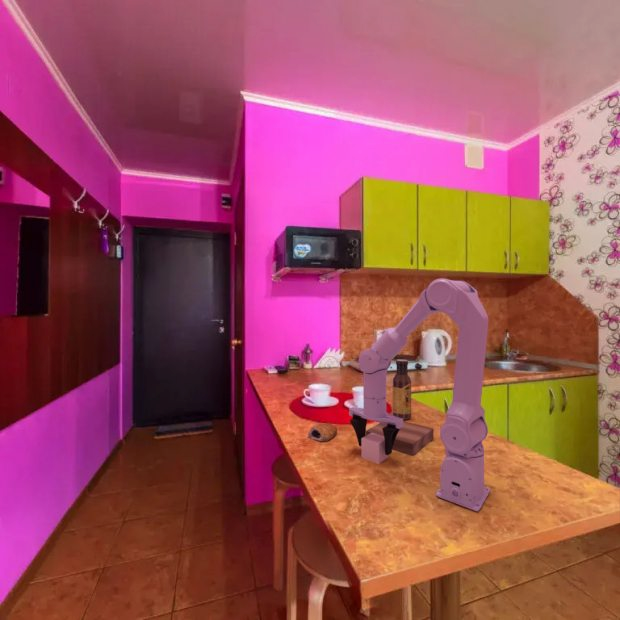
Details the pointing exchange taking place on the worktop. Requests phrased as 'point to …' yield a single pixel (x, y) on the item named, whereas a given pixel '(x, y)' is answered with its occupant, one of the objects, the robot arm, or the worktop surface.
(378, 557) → the worktop surface
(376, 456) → the cube
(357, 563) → the worktop surface
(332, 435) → the pastry
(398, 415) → the sauce bottle
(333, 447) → the worktop surface
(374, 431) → the base
